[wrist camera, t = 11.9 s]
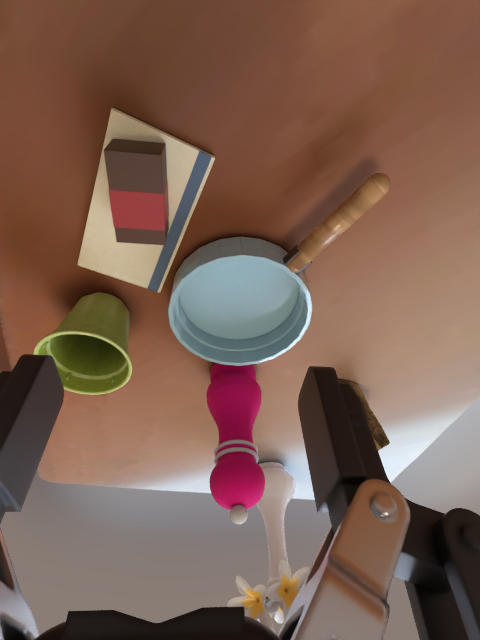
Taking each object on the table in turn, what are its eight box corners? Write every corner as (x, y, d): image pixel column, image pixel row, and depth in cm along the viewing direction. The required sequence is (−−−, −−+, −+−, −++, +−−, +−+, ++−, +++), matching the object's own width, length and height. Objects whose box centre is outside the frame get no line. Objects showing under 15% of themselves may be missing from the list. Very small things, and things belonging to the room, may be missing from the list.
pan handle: (292, 269, 38) (295, 280, 36) (278, 259, 37) (281, 270, 35) (390, 179, 32) (398, 188, 30) (377, 164, 31) (385, 172, 29)
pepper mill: (261, 383, 53) (277, 533, 38) (212, 389, 54) (210, 539, 39) (255, 349, 49) (272, 505, 33) (202, 356, 49) (195, 513, 34)
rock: (365, 438, 60) (404, 411, 53) (346, 476, 54) (387, 452, 47) (313, 394, 62) (345, 362, 55) (289, 427, 56) (321, 396, 49)
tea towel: (112, 107, 29) (111, 108, 29) (215, 156, 32) (215, 158, 32) (78, 262, 39) (77, 265, 38) (160, 289, 41) (160, 293, 41)
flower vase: (310, 483, 76) (340, 642, 57) (222, 483, 74) (223, 647, 55) (327, 451, 67) (369, 625, 48) (228, 449, 65) (232, 630, 46)
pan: (201, 211, 35) (199, 231, 32) (331, 265, 40) (341, 288, 37) (154, 320, 44) (149, 344, 41) (266, 354, 49) (269, 378, 46)
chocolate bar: (111, 138, 30) (102, 149, 28) (166, 142, 31) (162, 154, 28) (122, 226, 35) (115, 242, 33) (169, 229, 36) (165, 245, 33)
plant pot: (70, 266, 39) (40, 319, 32) (155, 296, 42) (143, 350, 35) (55, 325, 44) (27, 381, 38) (131, 348, 47) (118, 403, 41)
